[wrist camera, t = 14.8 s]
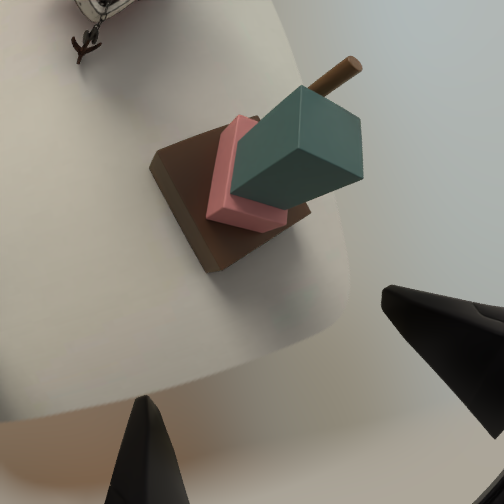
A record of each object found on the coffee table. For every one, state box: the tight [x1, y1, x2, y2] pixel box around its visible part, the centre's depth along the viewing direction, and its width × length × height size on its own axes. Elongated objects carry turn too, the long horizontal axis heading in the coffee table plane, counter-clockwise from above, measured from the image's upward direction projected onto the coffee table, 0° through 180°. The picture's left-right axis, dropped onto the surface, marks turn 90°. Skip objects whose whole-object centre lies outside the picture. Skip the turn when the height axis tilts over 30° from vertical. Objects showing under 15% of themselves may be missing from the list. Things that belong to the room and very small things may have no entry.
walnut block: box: [149, 116, 311, 273], centre depth 19 cm, size 8×8×2 cm
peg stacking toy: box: [206, 56, 363, 233], centre depth 14 cm, size 6×4×10 cm, turn 173°
